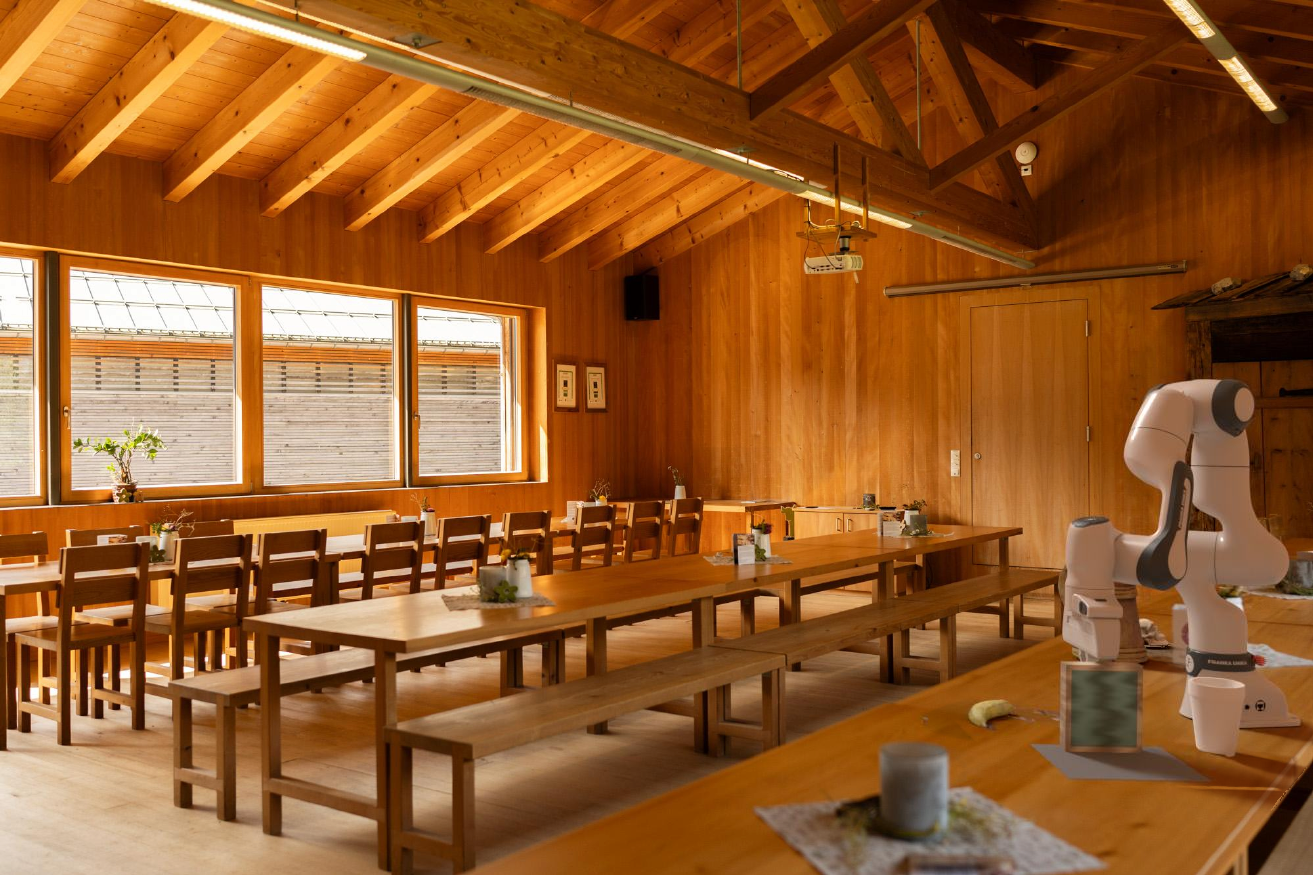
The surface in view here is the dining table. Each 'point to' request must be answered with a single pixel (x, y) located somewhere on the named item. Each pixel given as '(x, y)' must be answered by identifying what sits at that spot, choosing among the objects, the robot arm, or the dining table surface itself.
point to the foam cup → (1216, 713)
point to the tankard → (1129, 623)
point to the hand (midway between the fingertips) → (1088, 674)
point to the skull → (1152, 634)
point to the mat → (1120, 765)
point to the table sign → (1101, 707)
